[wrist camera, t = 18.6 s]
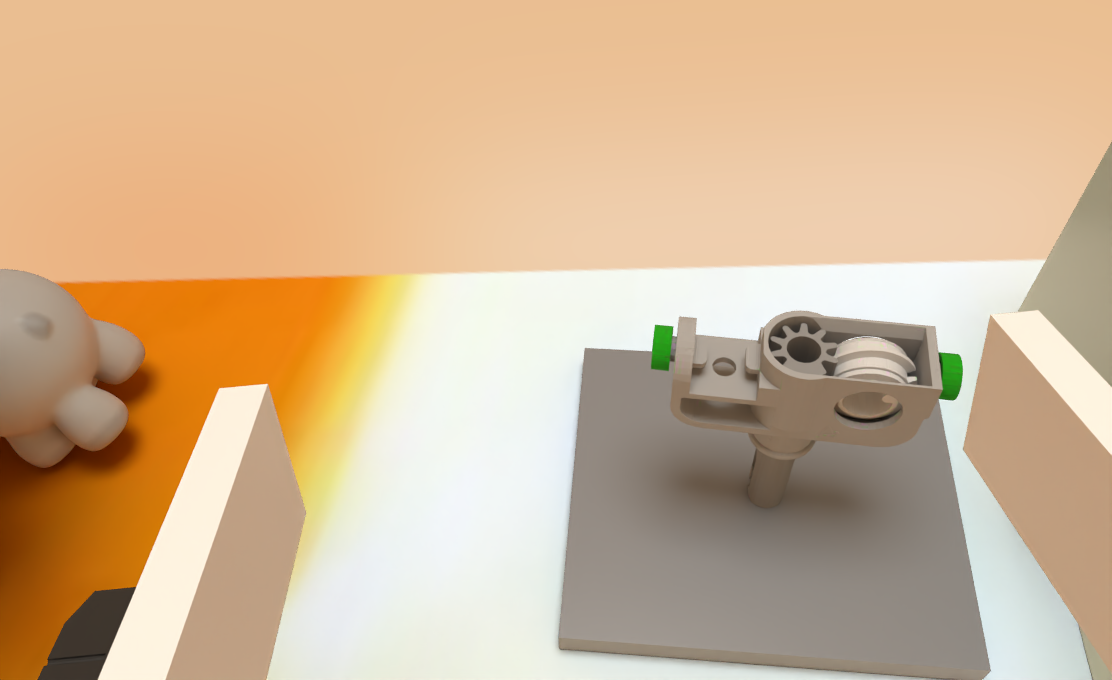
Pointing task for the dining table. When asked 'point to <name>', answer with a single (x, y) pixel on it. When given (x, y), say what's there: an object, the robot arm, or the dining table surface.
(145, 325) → the dining table surface
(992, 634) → the dining table surface
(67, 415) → the chubby cartoon animal
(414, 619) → the dining table surface
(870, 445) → the mechanical component
